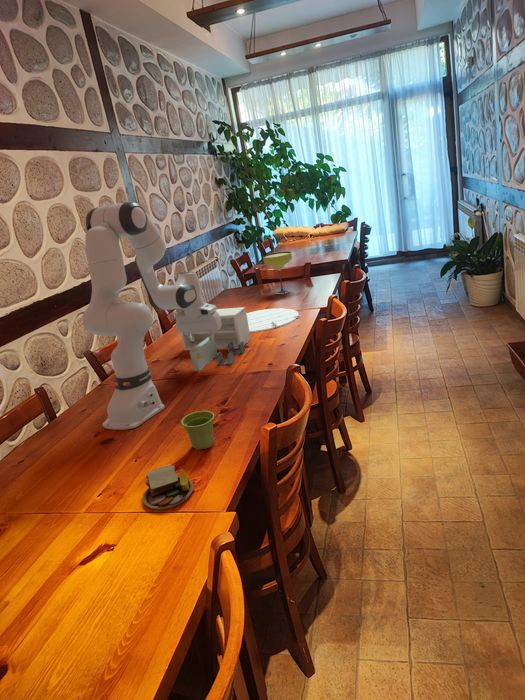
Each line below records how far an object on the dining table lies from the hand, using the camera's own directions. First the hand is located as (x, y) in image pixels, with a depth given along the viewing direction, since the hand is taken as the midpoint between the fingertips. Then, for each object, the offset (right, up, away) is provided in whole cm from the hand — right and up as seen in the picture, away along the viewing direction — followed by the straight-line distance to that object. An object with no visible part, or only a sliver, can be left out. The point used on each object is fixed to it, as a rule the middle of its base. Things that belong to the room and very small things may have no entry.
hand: (202, 340), depth 200 cm
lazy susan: (+26, +11, +51) cm, 59 cm away
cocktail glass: (+39, +33, +106) cm, 118 cm away
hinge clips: (+12, -7, +3) cm, 15 cm away
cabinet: (+4, -2, +24) cm, 24 cm away
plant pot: (+9, -32, -63) cm, 71 cm away
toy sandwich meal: (+2, -40, -83) cm, 93 cm away
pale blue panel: (+1, -10, +3) cm, 10 cm away
